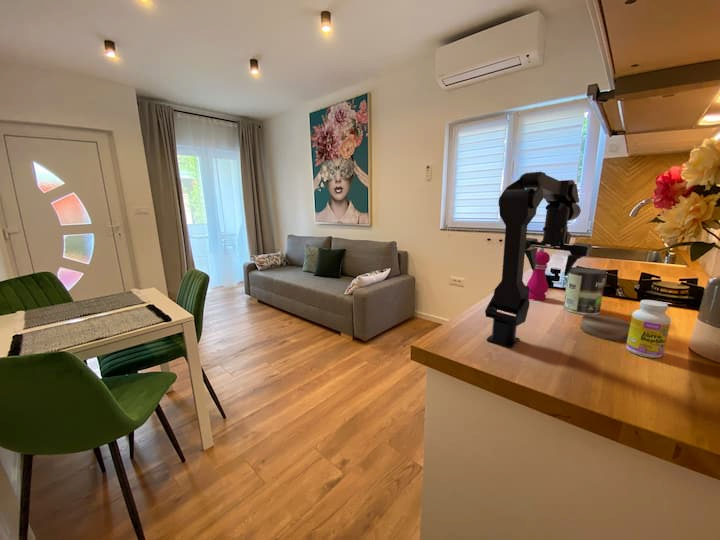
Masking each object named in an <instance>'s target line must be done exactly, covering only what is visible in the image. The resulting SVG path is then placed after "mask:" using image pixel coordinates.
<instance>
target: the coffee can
mask: <svg viewBox="0 0 720 540" xmlns="http://www.w3.org/2000/svg"><path fill="white" fill-rule="evenodd" d="M607 273H608V272H607V271H605V270H603V269H600V268H594V267H593V268H592V267H585V266H584V267H580V266H576V267H573V266H572V268H571V270H570V271H569V273H568V275H567V279H566V285H565V293H564V294H565V295H564V302H563V305H562V307H563V309H564V310H566V311H567V312H570V313H573V314H577V315H582V316H585V315H601V307H602V299H603V295H604V288H605V282H606V276H607Z"/></svg>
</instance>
